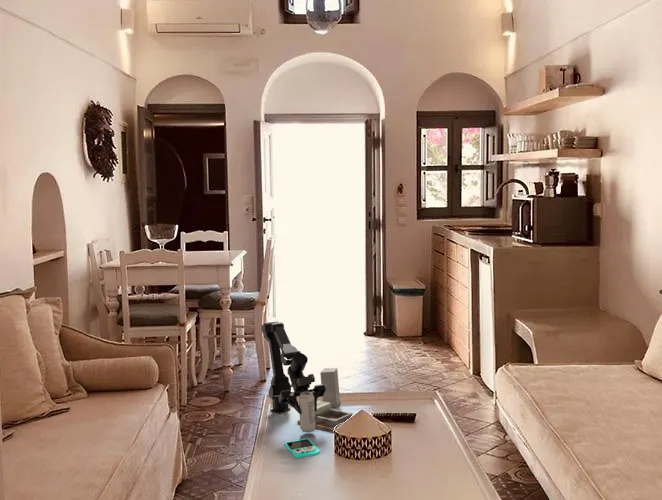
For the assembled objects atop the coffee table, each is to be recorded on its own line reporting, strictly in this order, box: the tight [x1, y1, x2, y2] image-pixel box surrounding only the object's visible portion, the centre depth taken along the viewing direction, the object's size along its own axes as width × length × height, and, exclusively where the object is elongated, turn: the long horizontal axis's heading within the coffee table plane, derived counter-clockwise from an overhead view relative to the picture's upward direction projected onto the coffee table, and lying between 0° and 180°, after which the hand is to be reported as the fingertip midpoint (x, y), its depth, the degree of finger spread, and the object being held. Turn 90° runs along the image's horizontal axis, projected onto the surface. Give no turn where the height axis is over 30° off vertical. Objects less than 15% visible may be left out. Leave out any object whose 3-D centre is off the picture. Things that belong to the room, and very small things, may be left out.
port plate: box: [296, 400, 354, 433], centre depth 303 cm, size 20×16×6 cm
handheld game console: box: [283, 437, 321, 459], centre depth 275 cm, size 10×16×1 cm, turn 19°
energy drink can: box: [298, 392, 317, 433], centre depth 290 cm, size 6×6×15 cm
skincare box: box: [319, 367, 341, 408], centre depth 326 cm, size 8×7×16 cm
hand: (308, 412), depth 288 cm, fingers closed on energy drink can, 6 cm apart
